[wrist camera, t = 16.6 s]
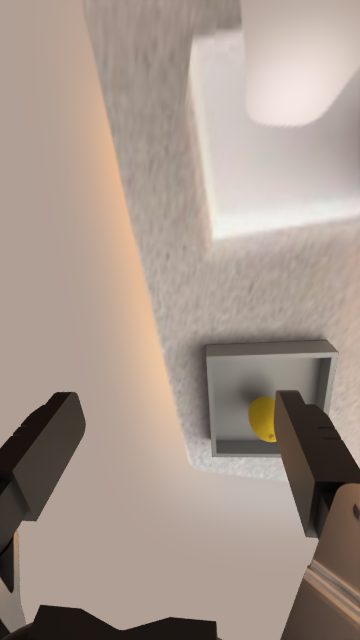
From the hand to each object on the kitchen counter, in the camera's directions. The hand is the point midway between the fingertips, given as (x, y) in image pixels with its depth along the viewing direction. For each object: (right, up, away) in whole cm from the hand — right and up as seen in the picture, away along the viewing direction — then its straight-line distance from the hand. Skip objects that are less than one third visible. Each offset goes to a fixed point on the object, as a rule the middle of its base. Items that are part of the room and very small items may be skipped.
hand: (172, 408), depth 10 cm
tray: (+14, -9, +33) cm, 37 cm away
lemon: (+14, -10, +32) cm, 36 cm away
